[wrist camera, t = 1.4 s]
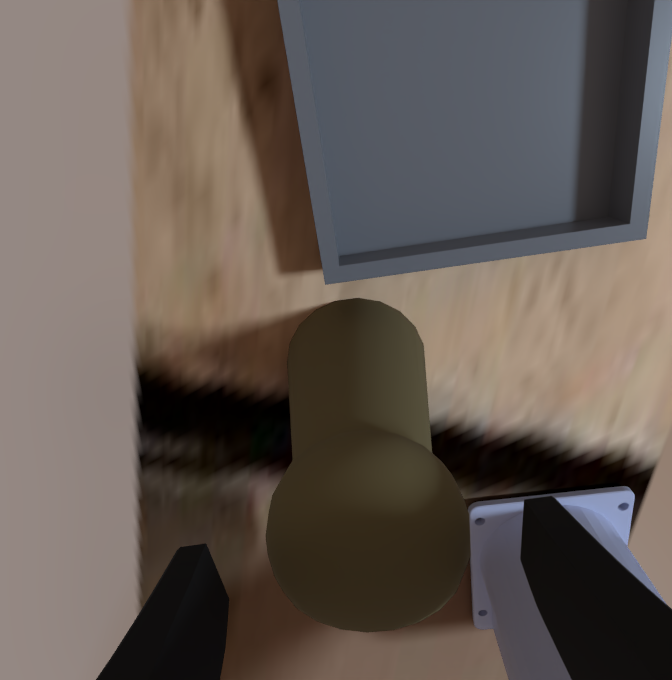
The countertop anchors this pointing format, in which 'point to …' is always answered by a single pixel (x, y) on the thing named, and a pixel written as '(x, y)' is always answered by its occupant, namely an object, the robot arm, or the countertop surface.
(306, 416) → the cork
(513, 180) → the tray
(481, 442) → the countertop surface
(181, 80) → the countertop surface
